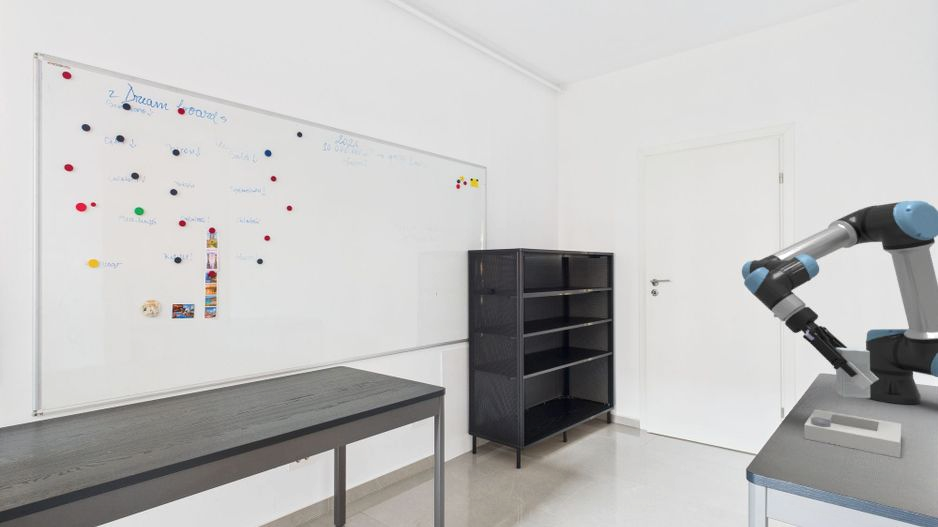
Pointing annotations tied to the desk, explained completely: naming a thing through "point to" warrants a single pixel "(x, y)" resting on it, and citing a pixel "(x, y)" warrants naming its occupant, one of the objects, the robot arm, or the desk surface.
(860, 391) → the skincare box
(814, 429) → the housing
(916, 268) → the robot arm
